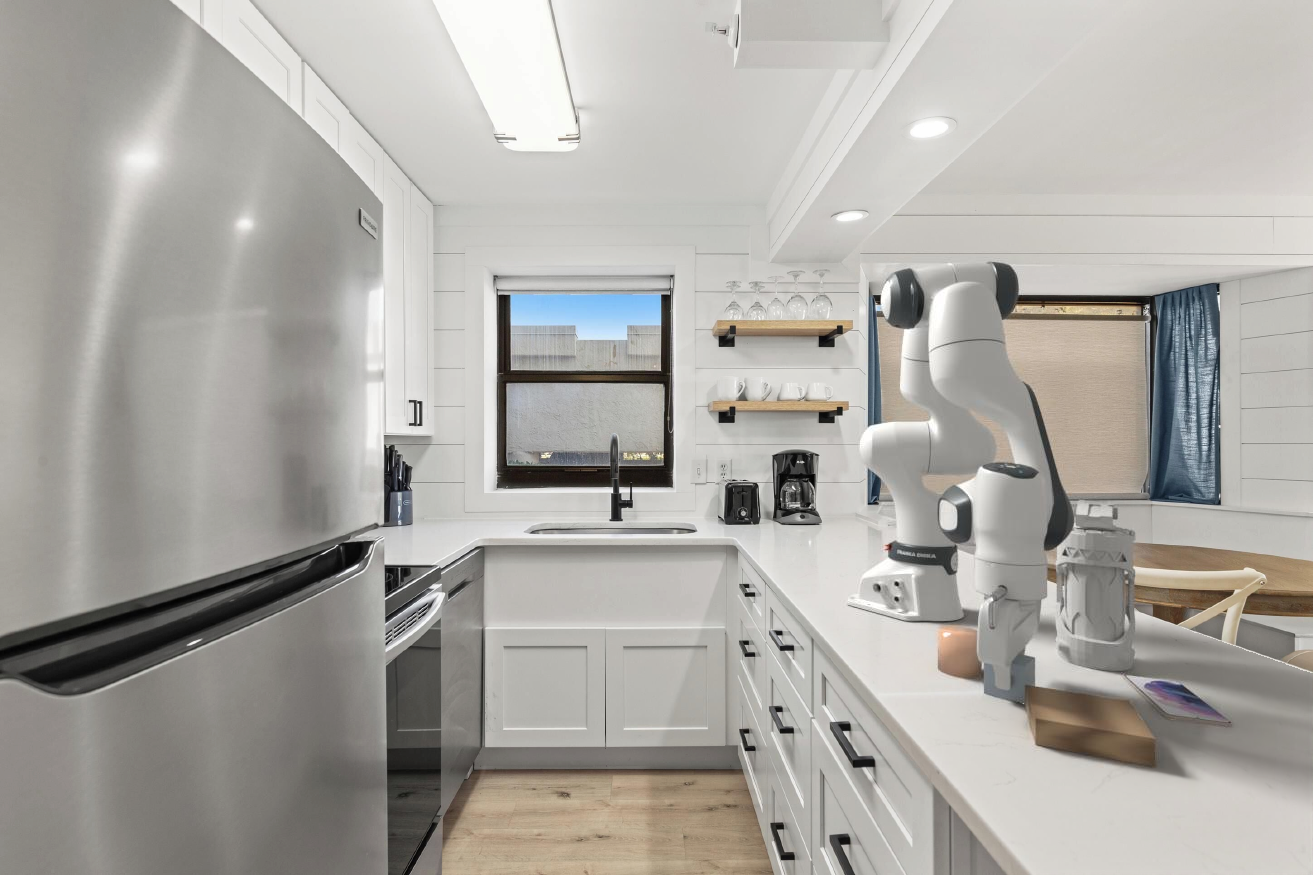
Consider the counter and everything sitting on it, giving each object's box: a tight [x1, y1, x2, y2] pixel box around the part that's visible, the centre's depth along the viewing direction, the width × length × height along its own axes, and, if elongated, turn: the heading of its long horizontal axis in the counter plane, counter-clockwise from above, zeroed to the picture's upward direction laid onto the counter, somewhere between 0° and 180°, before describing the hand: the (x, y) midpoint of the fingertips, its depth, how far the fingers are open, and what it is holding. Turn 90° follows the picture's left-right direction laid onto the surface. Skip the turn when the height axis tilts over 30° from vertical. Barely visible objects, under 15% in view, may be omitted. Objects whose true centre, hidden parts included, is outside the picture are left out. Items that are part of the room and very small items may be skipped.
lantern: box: [1055, 499, 1136, 672], centre depth 100 cm, size 13×10×25 cm
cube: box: [983, 654, 1036, 705], centre depth 86 cm, size 5×5×5 cm
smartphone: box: [1122, 674, 1234, 728], centre depth 84 cm, size 7×1×15 cm
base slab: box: [1024, 685, 1156, 768], centre depth 74 cm, size 11×11×3 cm
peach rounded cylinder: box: [937, 625, 983, 679], centre depth 94 cm, size 6×6×6 cm
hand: (1009, 680), depth 86 cm, fingers closed on cube, 5 cm apart
